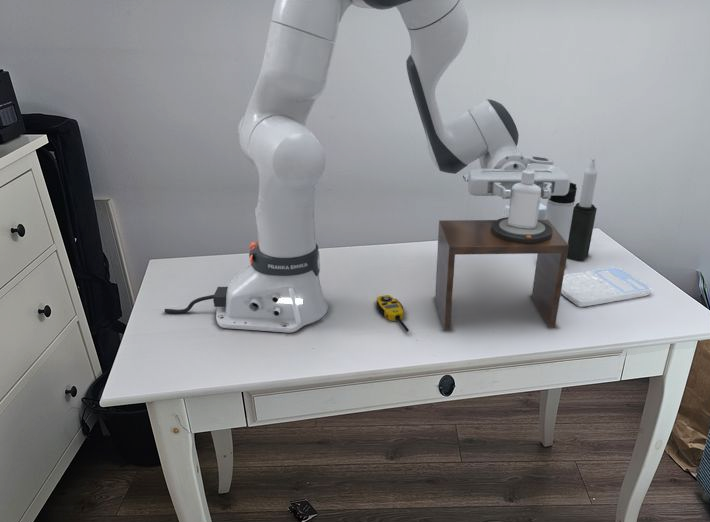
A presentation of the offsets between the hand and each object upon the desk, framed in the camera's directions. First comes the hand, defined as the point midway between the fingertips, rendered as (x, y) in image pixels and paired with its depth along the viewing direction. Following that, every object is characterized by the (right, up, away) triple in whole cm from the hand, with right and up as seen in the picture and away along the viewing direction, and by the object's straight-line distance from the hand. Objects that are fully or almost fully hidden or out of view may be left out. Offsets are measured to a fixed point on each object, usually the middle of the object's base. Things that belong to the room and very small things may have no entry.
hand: (527, 194), depth 117 cm
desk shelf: (-5, -22, +14) cm, 26 cm away
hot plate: (0, -6, +5) cm, 8 cm away
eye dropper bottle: (0, -5, +4) cm, 7 cm away
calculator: (+21, -16, +25) cm, 36 cm away
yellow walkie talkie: (-26, -23, +11) cm, 36 cm away
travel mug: (+12, -8, +36) cm, 39 cm away
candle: (+20, -6, +41) cm, 46 cm away
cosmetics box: (+7, -2, +47) cm, 47 cm away
